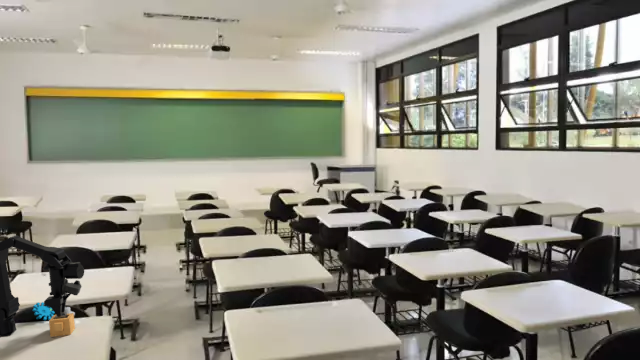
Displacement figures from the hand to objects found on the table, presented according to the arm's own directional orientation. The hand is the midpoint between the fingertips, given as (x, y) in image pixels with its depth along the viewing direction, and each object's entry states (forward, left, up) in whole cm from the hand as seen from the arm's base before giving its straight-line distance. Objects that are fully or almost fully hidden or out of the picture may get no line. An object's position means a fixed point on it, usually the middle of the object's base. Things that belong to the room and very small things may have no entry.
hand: (61, 314), depth 209 cm
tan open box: (0, +2, -8) cm, 8 cm away
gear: (-13, +19, -8) cm, 25 cm away
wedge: (0, 0, -8) cm, 8 cm away
